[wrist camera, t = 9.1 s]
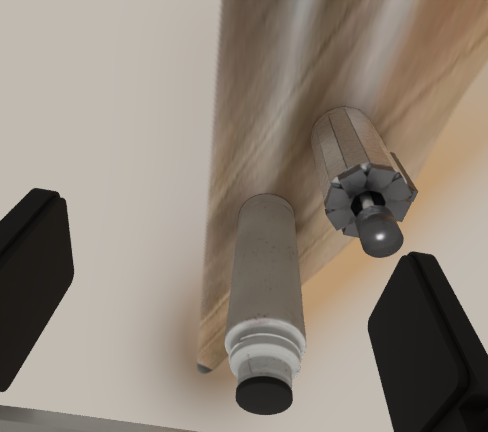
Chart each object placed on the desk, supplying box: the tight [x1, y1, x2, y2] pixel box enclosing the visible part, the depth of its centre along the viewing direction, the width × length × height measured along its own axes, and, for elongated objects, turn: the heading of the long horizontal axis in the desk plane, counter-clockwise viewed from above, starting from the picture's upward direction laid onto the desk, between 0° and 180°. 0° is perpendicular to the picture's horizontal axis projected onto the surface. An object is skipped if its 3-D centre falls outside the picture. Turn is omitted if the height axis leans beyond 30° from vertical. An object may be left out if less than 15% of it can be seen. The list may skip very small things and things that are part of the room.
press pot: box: [310, 107, 418, 238], centre depth 42 cm, size 8×10×16 cm
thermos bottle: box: [225, 194, 306, 415], centre depth 45 cm, size 8×8×28 cm
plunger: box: [355, 190, 403, 258], centre depth 38 cm, size 5×5×18 cm
